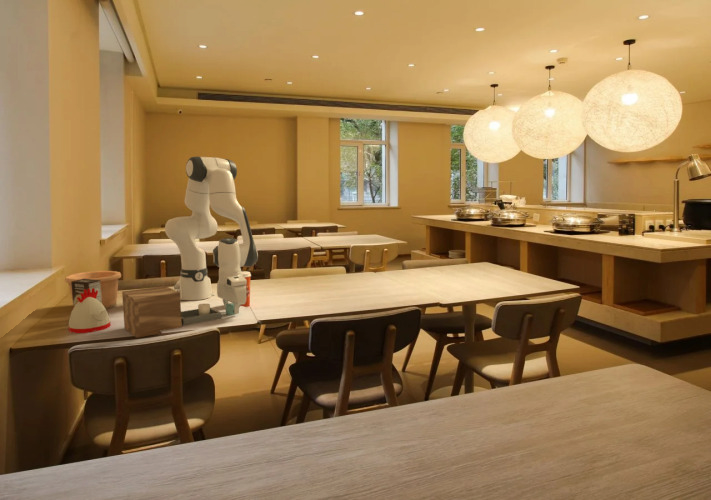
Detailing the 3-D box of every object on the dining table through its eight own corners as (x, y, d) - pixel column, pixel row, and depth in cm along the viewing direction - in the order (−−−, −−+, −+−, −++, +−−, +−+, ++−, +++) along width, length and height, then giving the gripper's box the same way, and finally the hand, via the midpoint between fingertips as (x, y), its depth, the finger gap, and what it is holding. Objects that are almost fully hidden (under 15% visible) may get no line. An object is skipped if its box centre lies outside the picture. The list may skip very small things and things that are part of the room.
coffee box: (73, 320, 197) (69, 281, 195) (86, 316, 203) (83, 278, 201) (90, 322, 194) (87, 282, 192) (104, 318, 200) (101, 279, 198)
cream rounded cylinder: (197, 316, 198) (196, 304, 197) (207, 315, 200) (207, 302, 200) (201, 319, 194) (200, 306, 194) (212, 317, 197) (211, 304, 196)
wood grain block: (124, 327, 186) (122, 291, 184) (167, 320, 196) (165, 285, 194) (136, 337, 174) (134, 299, 172) (181, 329, 184) (179, 292, 182)
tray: (173, 320, 195) (172, 313, 195) (209, 314, 205) (209, 307, 204) (183, 327, 186) (183, 319, 186) (221, 320, 196) (221, 312, 195)
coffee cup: (247, 308, 215) (246, 274, 213) (230, 307, 216) (228, 274, 214) (255, 304, 223) (254, 271, 221) (238, 303, 224) (237, 270, 222)
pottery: (73, 303, 226) (71, 272, 225) (126, 299, 233) (124, 269, 231) (61, 314, 206) (58, 281, 204) (119, 310, 213) (117, 277, 211)
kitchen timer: (118, 325, 190) (115, 287, 188) (86, 335, 178) (83, 294, 176) (93, 321, 196) (90, 284, 194) (60, 330, 184) (57, 291, 182)
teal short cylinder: (224, 316, 203) (223, 304, 202) (233, 314, 205) (233, 302, 205) (228, 318, 199) (228, 306, 199) (238, 316, 202) (238, 304, 201)
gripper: (212, 275, 206) (213, 308, 208) (233, 282, 191) (235, 317, 192) (226, 274, 210) (227, 305, 212) (248, 280, 195) (249, 315, 196)
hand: (231, 311), depth 202 cm, fingers open, 7 cm apart
